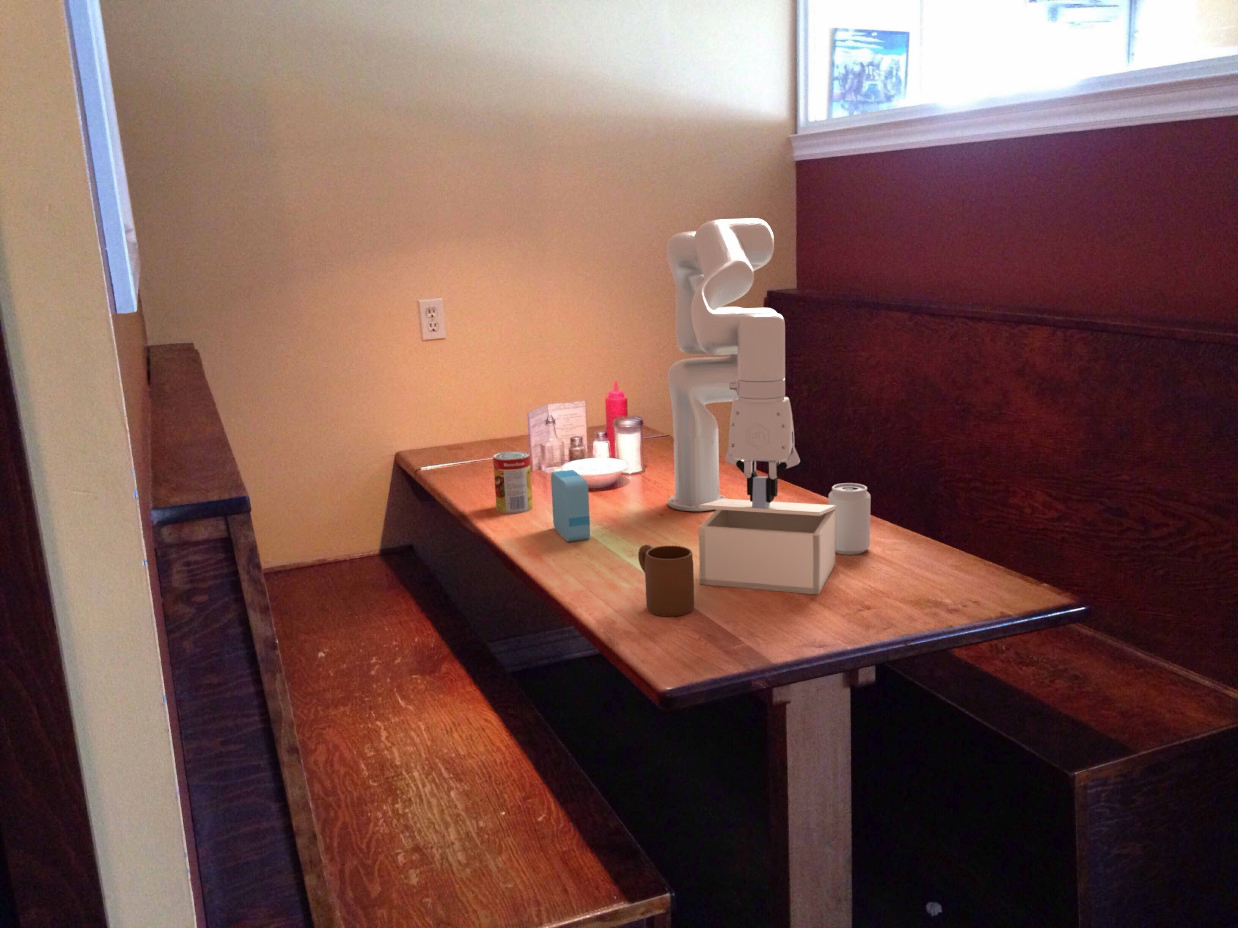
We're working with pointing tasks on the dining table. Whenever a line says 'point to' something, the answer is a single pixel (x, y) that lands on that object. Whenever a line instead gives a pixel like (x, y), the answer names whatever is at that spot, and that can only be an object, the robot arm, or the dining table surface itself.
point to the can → (851, 517)
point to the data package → (570, 505)
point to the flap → (762, 506)
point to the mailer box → (767, 550)
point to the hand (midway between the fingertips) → (762, 499)
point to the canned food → (513, 482)
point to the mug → (668, 579)
